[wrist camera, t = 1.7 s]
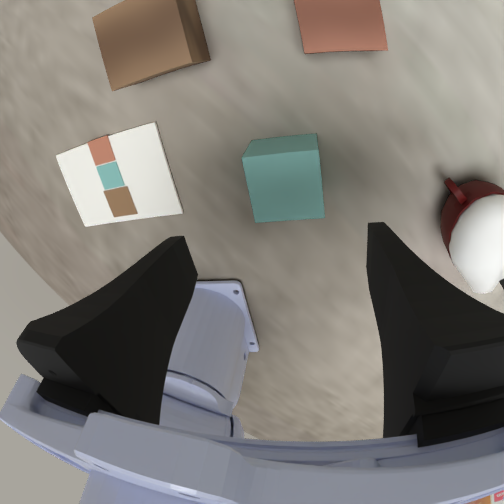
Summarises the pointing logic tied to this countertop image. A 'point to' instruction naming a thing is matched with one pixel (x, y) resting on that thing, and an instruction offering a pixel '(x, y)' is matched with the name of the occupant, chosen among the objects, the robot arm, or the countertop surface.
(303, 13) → the cherry block
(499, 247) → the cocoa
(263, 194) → the teal block
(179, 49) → the walnut base block
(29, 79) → the countertop surface
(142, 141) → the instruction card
